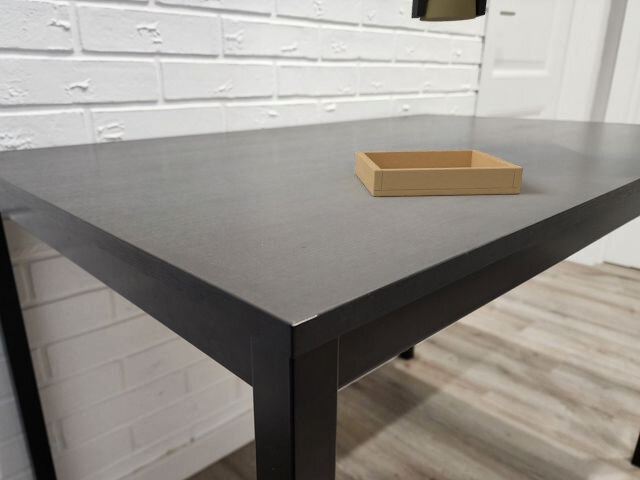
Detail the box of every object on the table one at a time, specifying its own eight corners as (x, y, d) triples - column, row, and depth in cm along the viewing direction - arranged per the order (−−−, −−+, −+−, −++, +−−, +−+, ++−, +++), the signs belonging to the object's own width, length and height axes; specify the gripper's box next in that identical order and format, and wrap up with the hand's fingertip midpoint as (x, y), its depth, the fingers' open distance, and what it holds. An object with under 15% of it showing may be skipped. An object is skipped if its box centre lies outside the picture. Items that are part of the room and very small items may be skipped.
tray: (473, 170, 63) (476, 149, 62) (519, 193, 51) (523, 167, 50) (354, 173, 63) (355, 151, 62) (373, 196, 51) (374, 170, 50)
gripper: (554, -235, 52) (518, 18, 60) (367, -230, 52) (357, 21, 61) (595, -282, 45) (549, 11, 53) (379, -277, 45) (367, 14, 54)
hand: (447, 16), depth 57 cm, fingers closed on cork, 6 cm apart
